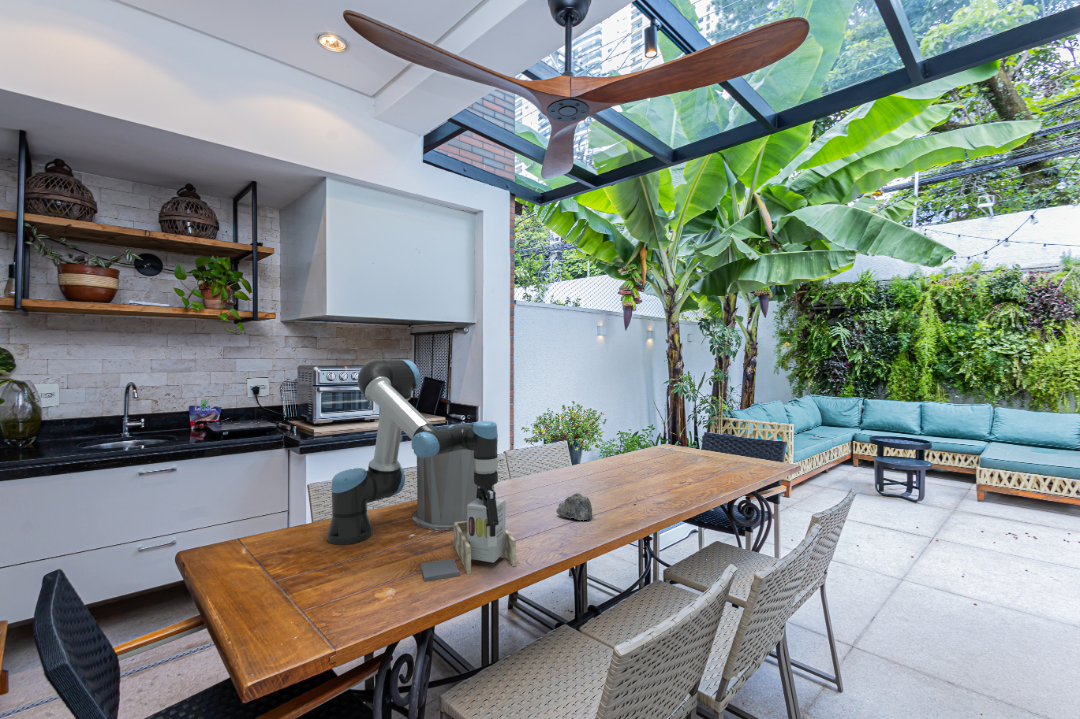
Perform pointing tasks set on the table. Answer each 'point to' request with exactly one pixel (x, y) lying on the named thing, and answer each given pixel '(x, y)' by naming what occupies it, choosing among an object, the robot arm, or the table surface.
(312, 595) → the table surface
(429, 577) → the plate
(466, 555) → the shelf bay
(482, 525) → the supplement box
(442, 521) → the grey streaked cylinder
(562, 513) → the mineral rock
